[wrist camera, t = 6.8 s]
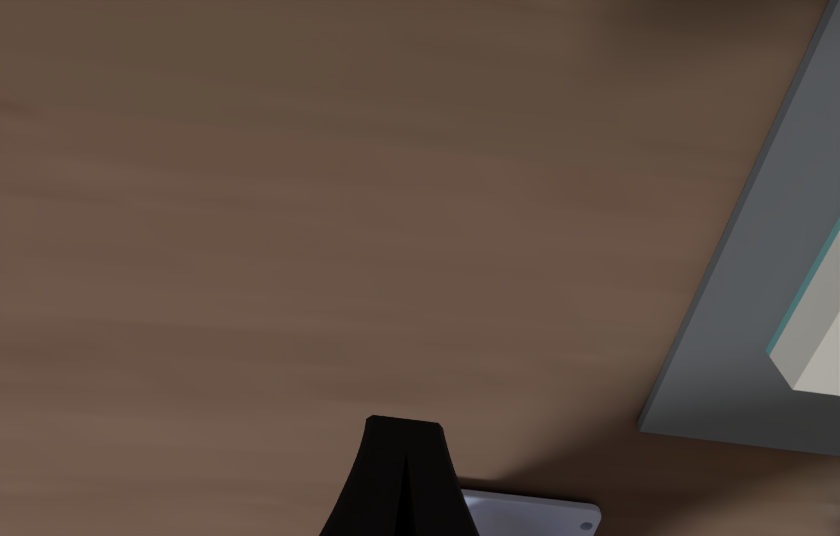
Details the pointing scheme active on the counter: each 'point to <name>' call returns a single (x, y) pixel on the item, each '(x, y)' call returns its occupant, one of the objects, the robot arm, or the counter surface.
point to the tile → (813, 327)
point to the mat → (763, 281)
